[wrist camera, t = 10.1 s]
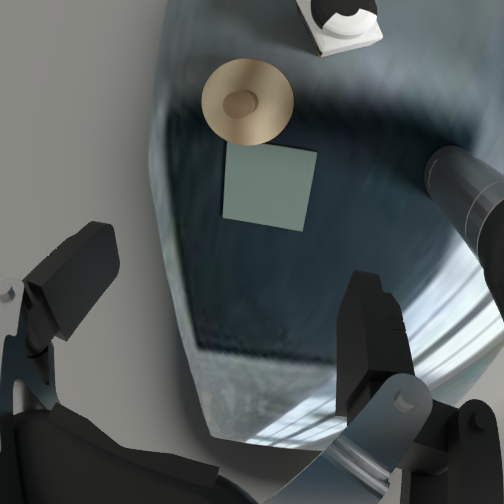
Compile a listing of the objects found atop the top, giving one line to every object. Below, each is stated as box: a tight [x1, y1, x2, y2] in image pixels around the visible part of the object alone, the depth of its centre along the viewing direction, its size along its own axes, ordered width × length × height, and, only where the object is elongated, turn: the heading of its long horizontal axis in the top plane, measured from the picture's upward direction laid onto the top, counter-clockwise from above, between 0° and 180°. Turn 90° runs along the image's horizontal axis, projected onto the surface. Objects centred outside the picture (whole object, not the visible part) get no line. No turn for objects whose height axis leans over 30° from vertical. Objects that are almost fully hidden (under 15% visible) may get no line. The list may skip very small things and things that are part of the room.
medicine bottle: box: [296, 0, 383, 57], centre depth 22 cm, size 7×7×12 cm
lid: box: [202, 58, 294, 146], centre depth 29 cm, size 10×10×6 cm
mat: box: [223, 141, 317, 231], centre depth 41 cm, size 12×12×1 cm
